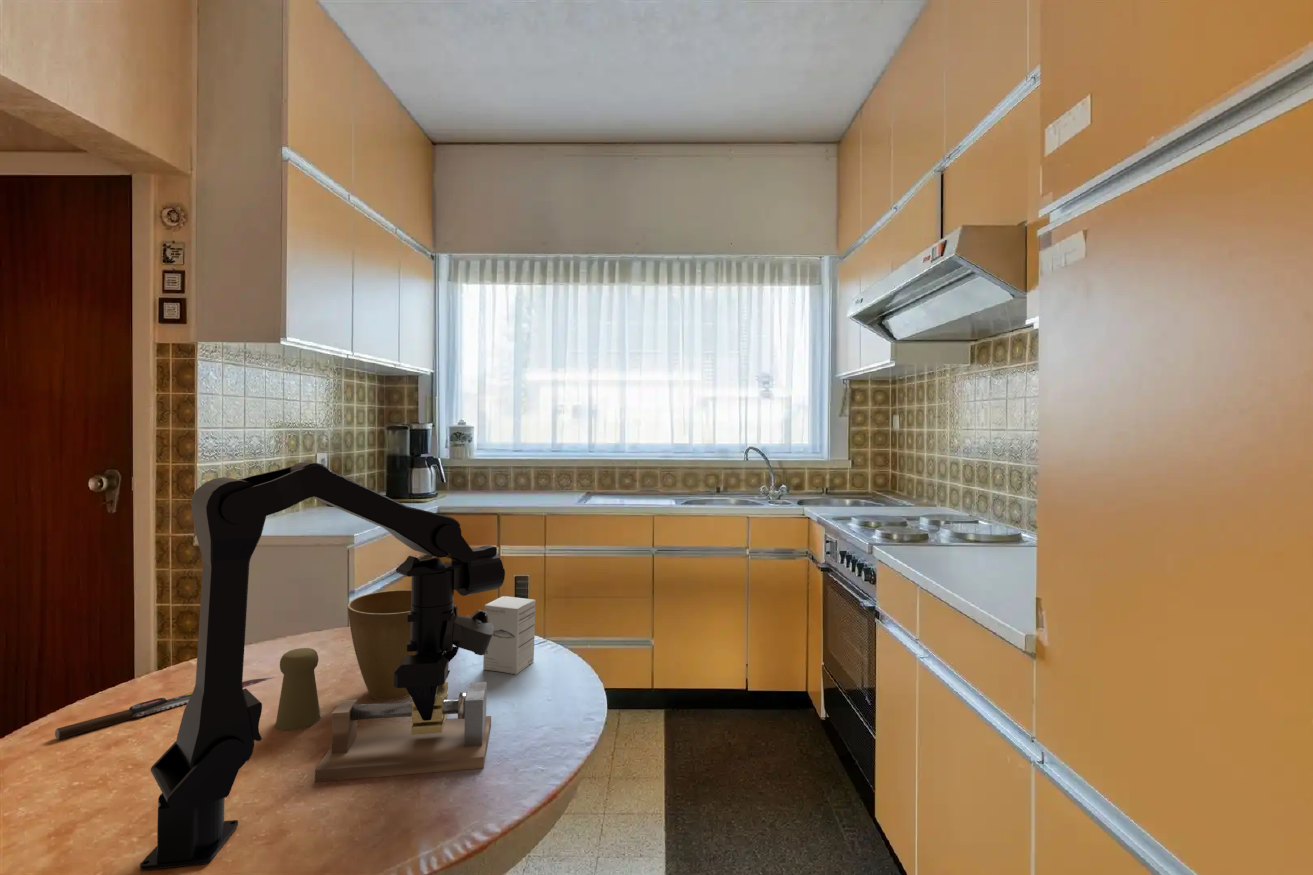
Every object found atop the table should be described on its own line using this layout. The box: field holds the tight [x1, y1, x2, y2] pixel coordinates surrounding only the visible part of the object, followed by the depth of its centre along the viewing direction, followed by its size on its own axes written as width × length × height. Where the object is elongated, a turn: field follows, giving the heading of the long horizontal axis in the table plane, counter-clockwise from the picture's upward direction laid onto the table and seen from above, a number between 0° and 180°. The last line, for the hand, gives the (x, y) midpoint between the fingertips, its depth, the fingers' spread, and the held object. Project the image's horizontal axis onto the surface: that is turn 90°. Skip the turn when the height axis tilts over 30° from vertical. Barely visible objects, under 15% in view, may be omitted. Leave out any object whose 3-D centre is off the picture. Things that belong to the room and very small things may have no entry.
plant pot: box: [347, 589, 416, 701], centre depth 105 cm, size 15×15×16 cm
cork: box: [275, 647, 321, 731], centre depth 93 cm, size 6×6×11 cm
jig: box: [314, 699, 492, 783], centre depth 85 cm, size 12×21×7 cm, turn 101°
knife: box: [54, 676, 276, 740], centre depth 99 cm, size 3×2×30 cm
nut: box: [411, 681, 449, 735], centre depth 86 cm, size 5×4×5 cm
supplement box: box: [482, 595, 537, 675], centre depth 117 cm, size 7×7×13 cm
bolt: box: [350, 681, 488, 747], centre depth 85 cm, size 6×19×6 cm, turn 101°
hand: (430, 711), depth 86 cm, fingers closed on nut, 5 cm apart
